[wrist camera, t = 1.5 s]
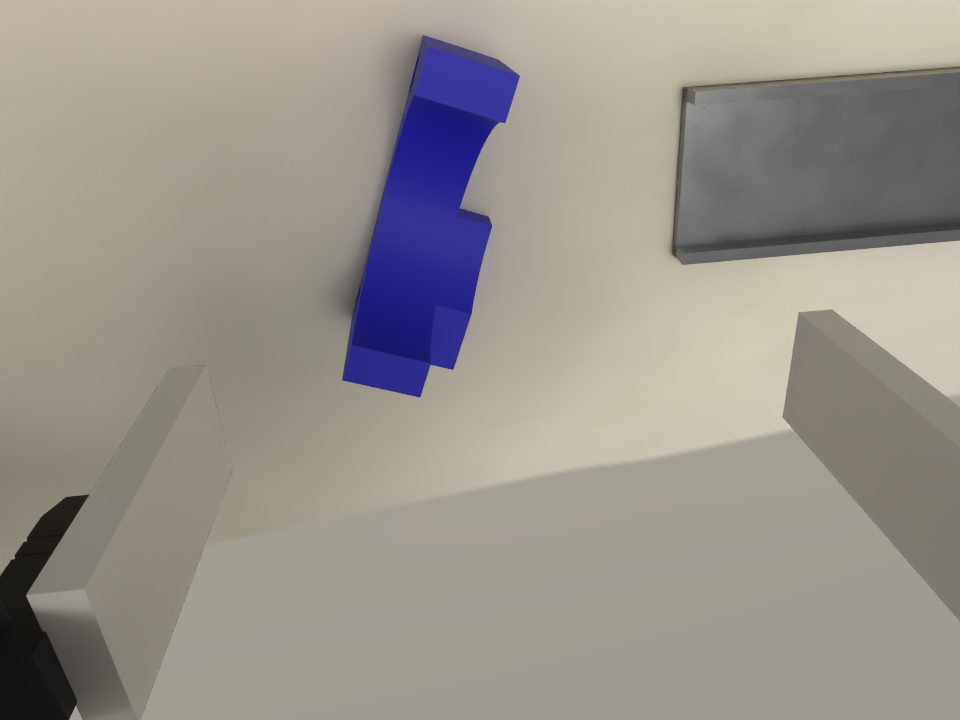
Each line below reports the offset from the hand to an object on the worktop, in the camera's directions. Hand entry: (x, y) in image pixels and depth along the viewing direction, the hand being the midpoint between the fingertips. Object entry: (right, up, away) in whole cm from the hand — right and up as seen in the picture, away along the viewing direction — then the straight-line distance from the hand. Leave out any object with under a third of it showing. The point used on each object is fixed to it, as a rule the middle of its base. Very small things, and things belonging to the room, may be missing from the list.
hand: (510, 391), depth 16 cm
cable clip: (-3, +7, +14) cm, 16 cm away
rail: (+15, +9, +15) cm, 23 cm away
